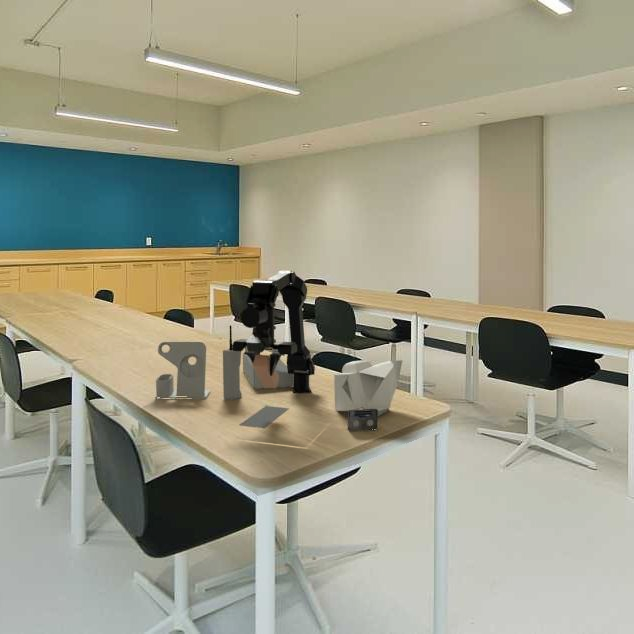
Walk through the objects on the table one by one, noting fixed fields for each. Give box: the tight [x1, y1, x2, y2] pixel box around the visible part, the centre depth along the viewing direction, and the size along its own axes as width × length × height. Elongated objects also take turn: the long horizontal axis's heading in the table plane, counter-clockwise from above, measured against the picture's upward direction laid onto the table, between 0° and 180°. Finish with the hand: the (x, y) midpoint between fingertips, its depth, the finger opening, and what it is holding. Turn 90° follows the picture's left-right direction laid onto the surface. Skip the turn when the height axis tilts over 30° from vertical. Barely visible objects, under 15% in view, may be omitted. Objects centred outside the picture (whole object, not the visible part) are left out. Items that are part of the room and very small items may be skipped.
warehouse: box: [242, 352, 293, 390], centre depth 219 cm, size 30×14×8 cm, turn 15°
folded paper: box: [333, 359, 403, 417], centre depth 177 cm, size 17×24×17 cm
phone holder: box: [155, 341, 211, 400], centre depth 194 cm, size 17×10×18 cm, turn 92°
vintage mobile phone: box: [222, 325, 243, 401], centre depth 190 cm, size 4×5×25 cm
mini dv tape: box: [347, 408, 379, 432], centre depth 160 cm, size 8×2×6 cm, turn 98°
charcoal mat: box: [239, 405, 290, 429], centre depth 171 cm, size 20×8×1 cm, turn 162°
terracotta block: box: [252, 354, 279, 389], centre depth 170 cm, size 4×4×12 cm
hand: (264, 375), depth 169 cm, fingers closed on terracotta block, 4 cm apart
